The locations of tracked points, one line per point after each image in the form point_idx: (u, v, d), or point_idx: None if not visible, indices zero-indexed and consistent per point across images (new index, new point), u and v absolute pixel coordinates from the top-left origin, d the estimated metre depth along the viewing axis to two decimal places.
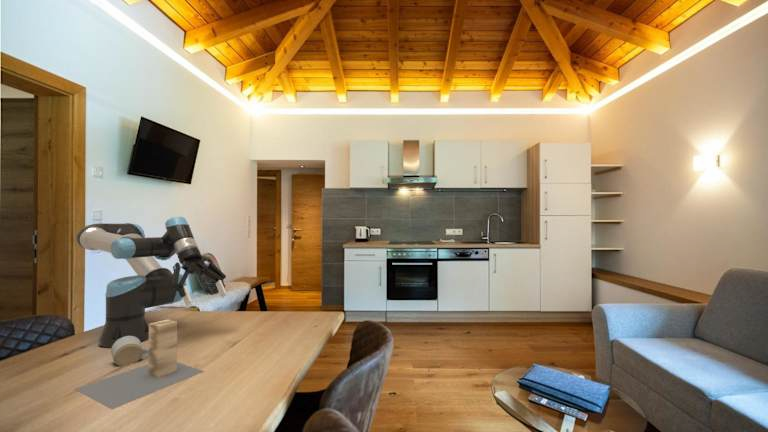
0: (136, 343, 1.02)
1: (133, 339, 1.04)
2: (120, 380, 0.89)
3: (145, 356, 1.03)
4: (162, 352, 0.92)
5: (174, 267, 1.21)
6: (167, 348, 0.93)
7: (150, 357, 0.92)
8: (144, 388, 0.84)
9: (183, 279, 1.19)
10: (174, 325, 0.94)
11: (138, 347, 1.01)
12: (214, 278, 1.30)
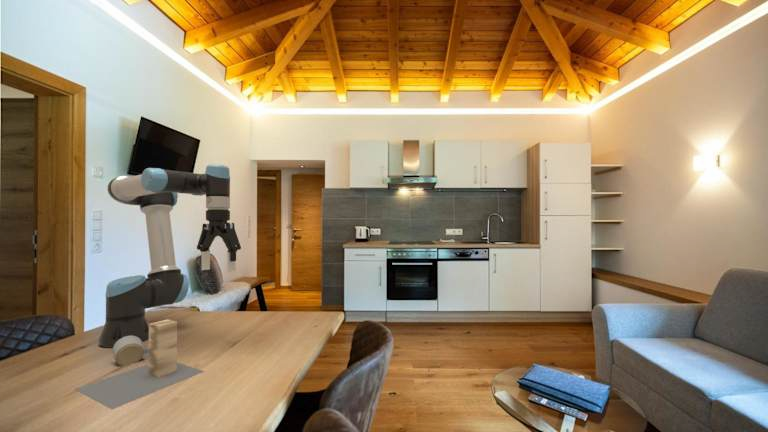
0: (137, 343, 1.02)
1: (134, 339, 1.04)
2: (120, 380, 0.89)
3: (146, 356, 1.04)
4: (162, 352, 0.92)
5: None
6: (167, 348, 0.93)
7: (150, 357, 0.92)
8: (144, 388, 0.84)
9: (203, 244, 1.17)
10: (174, 325, 0.94)
11: (139, 347, 1.02)
12: None
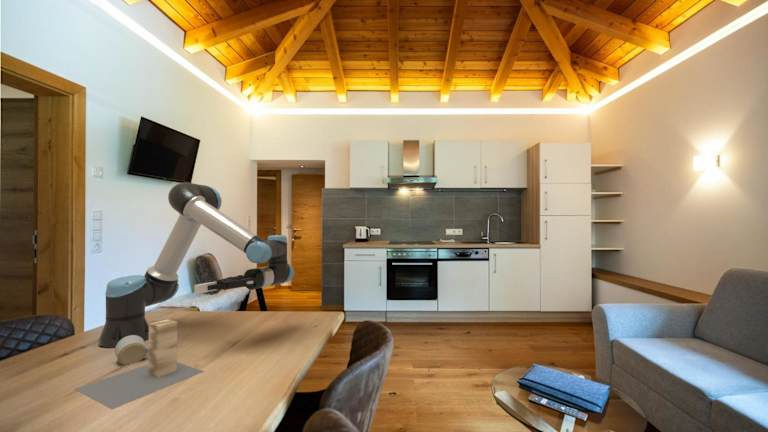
0: (140, 342, 1.03)
1: (137, 338, 1.04)
2: (120, 380, 0.89)
3: None
4: (162, 352, 0.92)
5: (249, 281, 1.13)
6: (167, 348, 0.93)
7: (150, 357, 0.92)
8: (144, 388, 0.84)
9: None
10: (174, 325, 0.94)
11: (142, 346, 1.02)
12: None
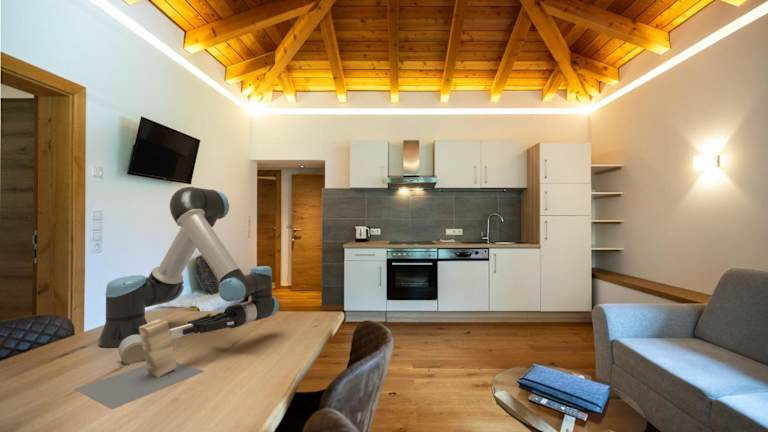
0: None
1: (140, 338, 1.05)
2: (120, 380, 0.89)
3: None
4: (158, 353, 0.91)
5: (229, 322, 1.05)
6: (162, 349, 0.91)
7: (147, 358, 0.92)
8: (144, 388, 0.84)
9: None
10: (165, 325, 0.92)
11: None
12: None
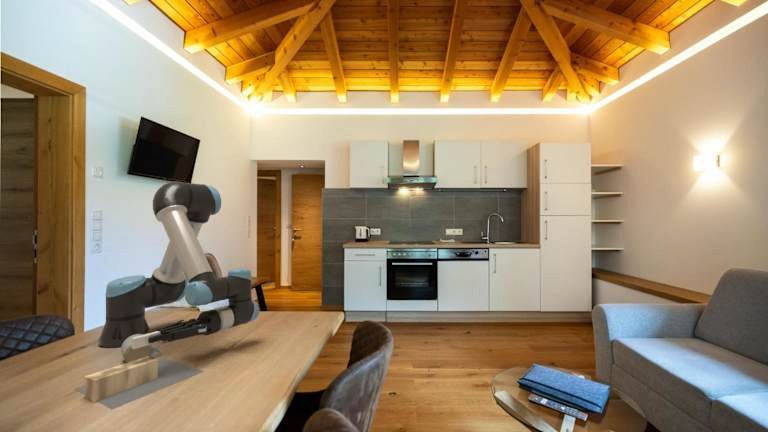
0: None
1: None
2: None
3: (154, 354, 1.05)
4: (130, 383, 0.85)
5: (201, 329, 0.98)
6: (127, 380, 0.84)
7: None
8: (144, 388, 0.84)
9: None
10: (98, 382, 0.79)
11: (147, 345, 1.03)
12: None
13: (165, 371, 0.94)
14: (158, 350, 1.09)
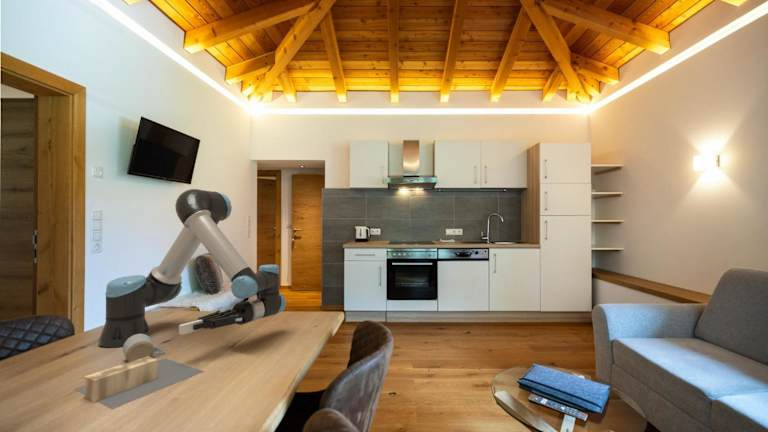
0: (147, 341, 1.04)
1: (144, 337, 1.06)
2: None
3: (156, 354, 1.05)
4: (130, 383, 0.85)
5: (237, 319, 1.08)
6: (127, 380, 0.84)
7: None
8: (144, 388, 0.84)
9: None
10: (98, 382, 0.79)
11: (149, 345, 1.03)
12: None
13: (165, 371, 0.94)
14: (160, 350, 1.10)
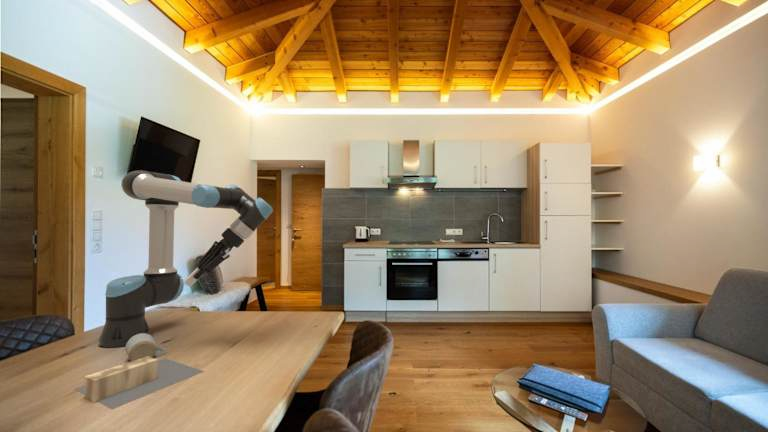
0: (150, 340, 1.04)
1: (147, 336, 1.06)
2: None
3: (158, 353, 1.06)
4: (130, 383, 0.85)
5: (223, 256, 1.15)
6: (127, 380, 0.84)
7: None
8: (144, 388, 0.84)
9: None
10: (98, 382, 0.79)
11: (152, 344, 1.04)
12: None
13: (165, 371, 0.94)
14: (162, 349, 1.10)
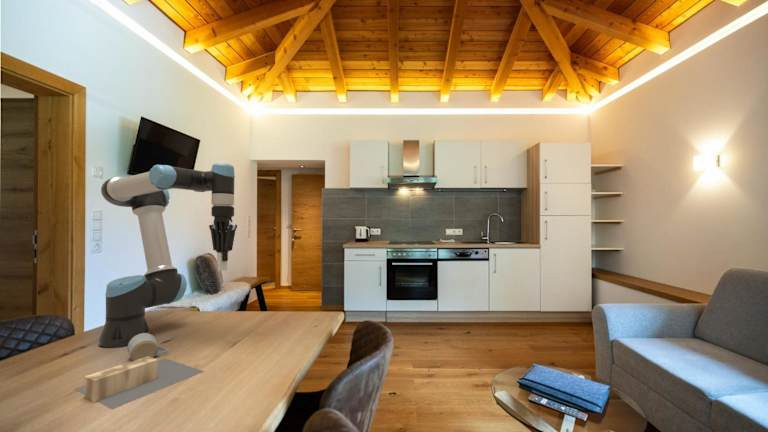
0: (152, 340, 1.05)
1: (149, 336, 1.07)
2: None
3: (160, 353, 1.06)
4: (130, 383, 0.85)
5: (232, 228, 1.18)
6: (127, 380, 0.84)
7: None
8: (144, 388, 0.84)
9: None
10: (98, 382, 0.79)
11: (154, 344, 1.04)
12: None
13: (165, 371, 0.94)
14: (164, 349, 1.10)
